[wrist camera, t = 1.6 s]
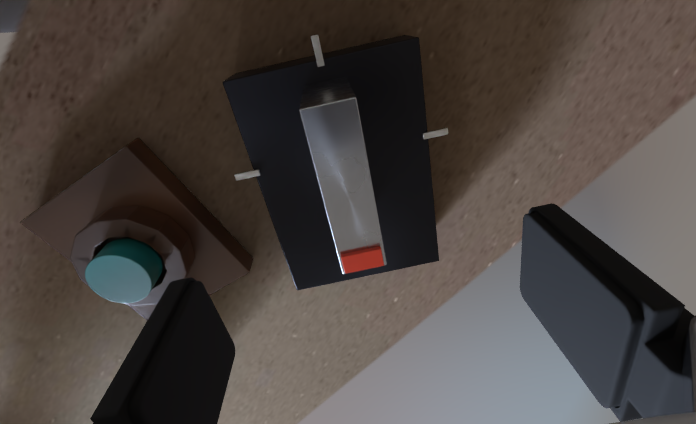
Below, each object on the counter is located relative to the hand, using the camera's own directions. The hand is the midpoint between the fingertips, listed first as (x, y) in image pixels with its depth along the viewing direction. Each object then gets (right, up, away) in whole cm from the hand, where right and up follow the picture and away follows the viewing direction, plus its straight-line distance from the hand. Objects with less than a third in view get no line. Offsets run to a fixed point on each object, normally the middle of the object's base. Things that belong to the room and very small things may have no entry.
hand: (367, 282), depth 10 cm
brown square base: (-14, 0, +15) cm, 20 cm away
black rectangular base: (-1, +5, +13) cm, 14 cm away
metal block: (-1, +5, +10) cm, 11 cm away
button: (-14, -1, +12) cm, 18 cm away
